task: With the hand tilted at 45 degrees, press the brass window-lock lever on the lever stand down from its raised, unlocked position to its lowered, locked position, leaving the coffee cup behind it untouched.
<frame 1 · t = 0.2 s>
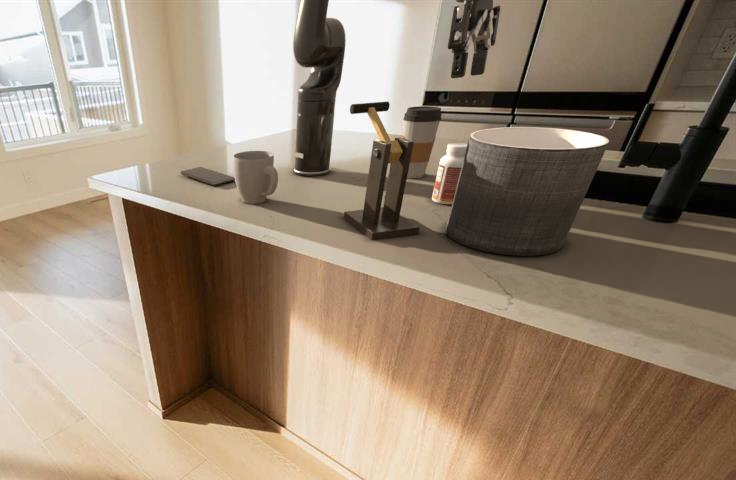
hand: (467, 76, 78), 22 cm above the table, tool pointing down, fingers open, 8 cm apart
coffee cup: (410, 176, 107), on the table
lock lever: (380, 130, 75), point 16 cm above the table, hinge at 30.0°
mug: (258, 202, 96), on the table
pill bottle: (446, 201, 90), on the table
planter: (500, 237, 73), on the table
smartphone: (207, 178, 114), on the table
lever stand: (379, 225, 80), on the table
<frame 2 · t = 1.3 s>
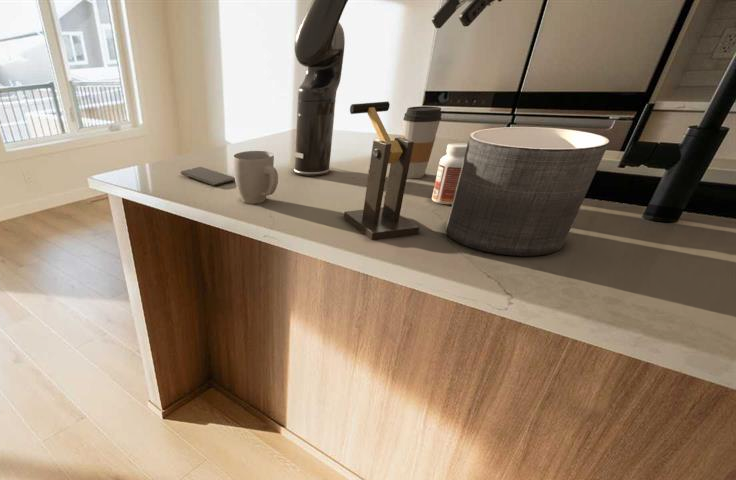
hand: (448, 23, 72), 31 cm above the table, tool tilted 45°, fingers open, 7 cm apart
nothing on the table moved.
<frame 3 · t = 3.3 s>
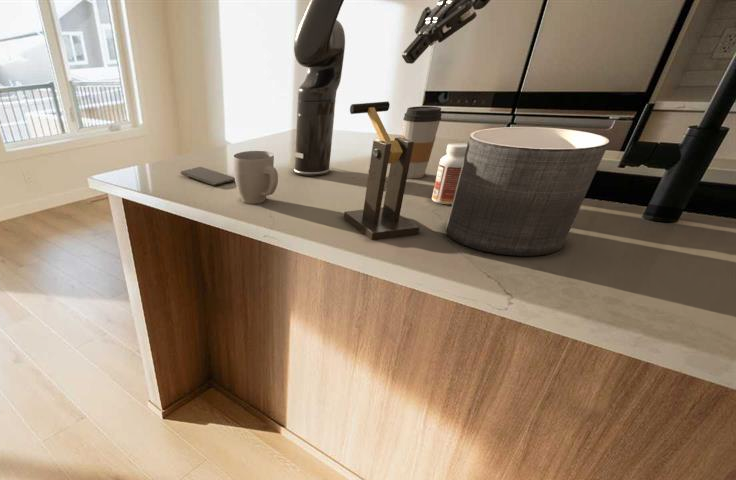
hand: (406, 59, 74), 26 cm above the table, tool tilted 45°, fingers closed
nothing on the table moved.
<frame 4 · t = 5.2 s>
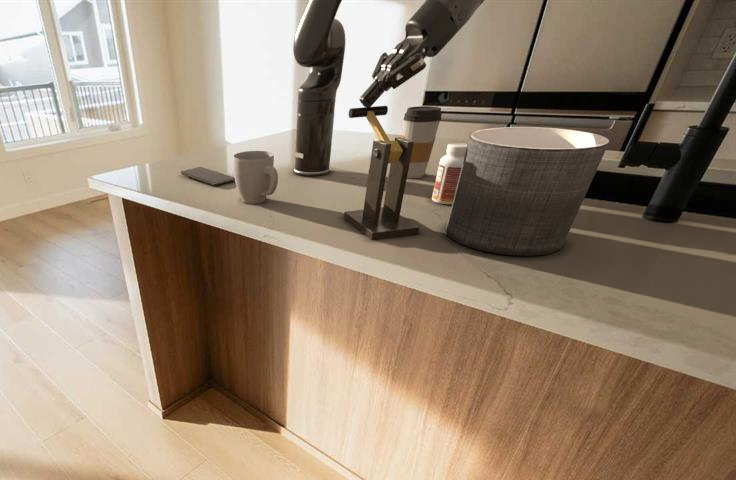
hand: (363, 103, 77), 19 cm above the table, tool tilted 45°, fingers closed
lock lever: (379, 132, 75), point 15 cm above the table, hinge at 26.0°, touching gripper
everything else where it was.
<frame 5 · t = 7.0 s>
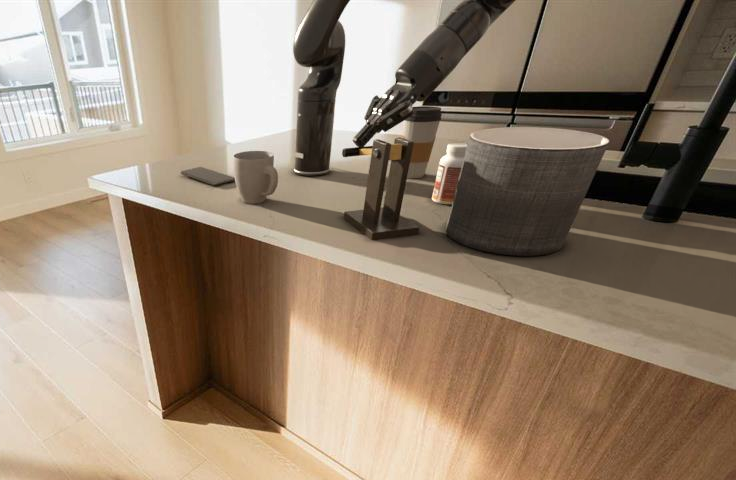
hand: (356, 144, 82), 12 cm above the table, tool tilted 45°, fingers closed
lock lever: (375, 151, 77), point 12 cm above the table, hinge at -9.7°
everything else where it was.
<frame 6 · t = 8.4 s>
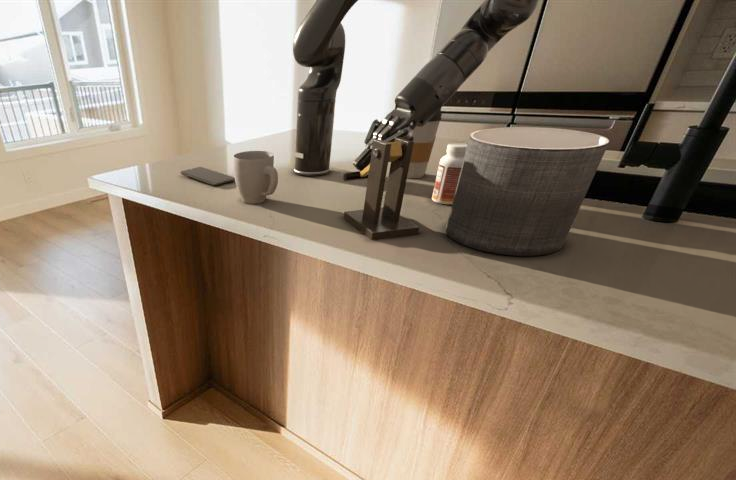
hand: (356, 167, 83), 8 cm above the table, tool tilted 45°, fingers closed
lock lever: (375, 163, 78), point 10 cm above the table, hinge at -32.0°, touching gripper
everything else where it was.
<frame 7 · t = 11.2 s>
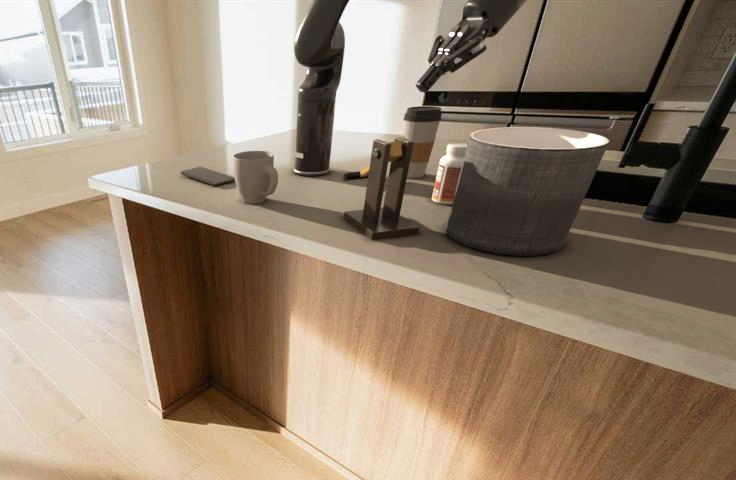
hand: (420, 89, 78), 21 cm above the table, tool tilted 40°, fingers closed
lock lever: (375, 163, 78), point 10 cm above the table, hinge at -32.0°
everything else where it was.
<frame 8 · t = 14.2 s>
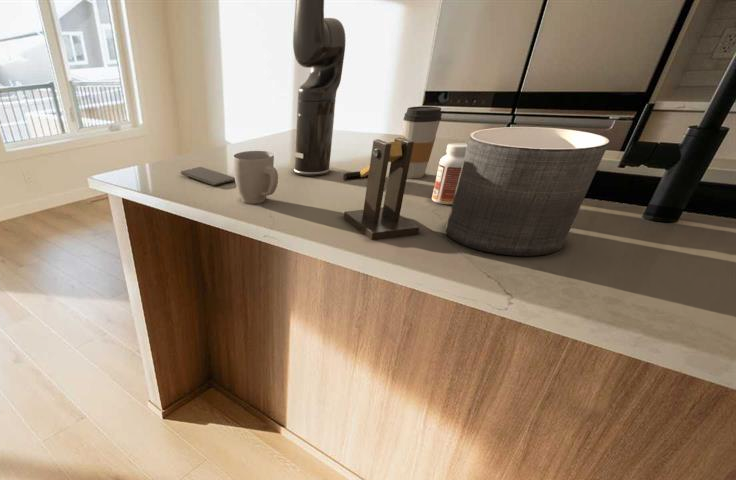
nothing on the table moved.
at the end: lock lever at -32° (first picture: +30°); coffee cup moved 0.2 cm from its start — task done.
